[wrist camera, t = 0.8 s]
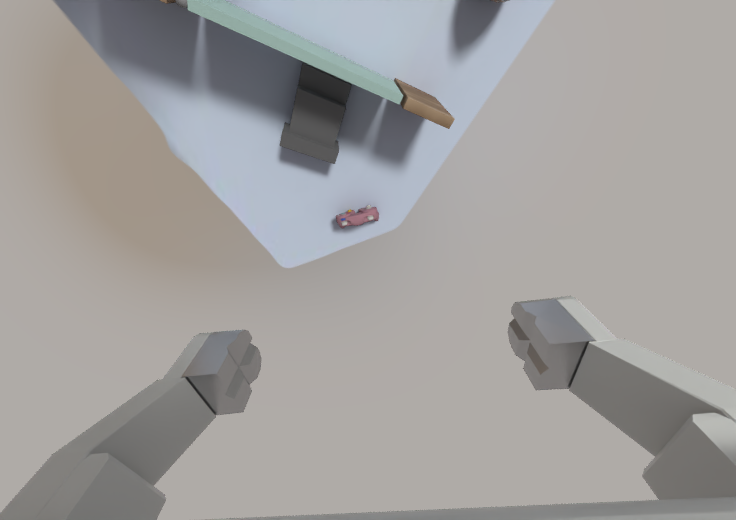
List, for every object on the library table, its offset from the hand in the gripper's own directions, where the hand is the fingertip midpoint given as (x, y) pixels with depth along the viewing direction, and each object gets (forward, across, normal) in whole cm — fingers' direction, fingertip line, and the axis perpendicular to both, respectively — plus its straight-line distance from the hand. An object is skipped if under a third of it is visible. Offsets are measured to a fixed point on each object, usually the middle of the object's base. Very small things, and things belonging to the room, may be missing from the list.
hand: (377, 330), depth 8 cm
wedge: (+48, +9, -5) cm, 50 cm away
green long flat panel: (+44, +8, -14) cm, 46 cm away
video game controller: (+55, +6, +16) cm, 57 cm away
